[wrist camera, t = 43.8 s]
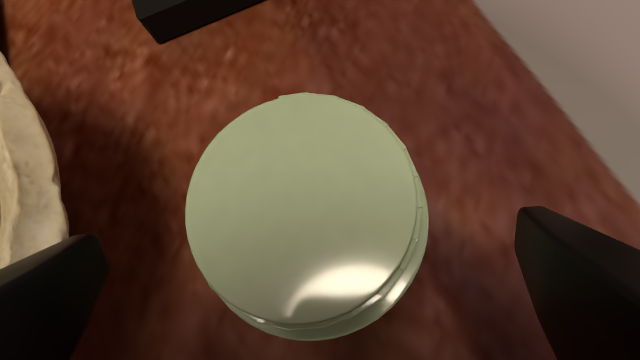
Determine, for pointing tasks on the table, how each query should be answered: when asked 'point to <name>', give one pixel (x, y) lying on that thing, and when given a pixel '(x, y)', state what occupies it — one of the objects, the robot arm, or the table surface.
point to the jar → (307, 217)
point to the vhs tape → (182, 14)
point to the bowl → (26, 176)
